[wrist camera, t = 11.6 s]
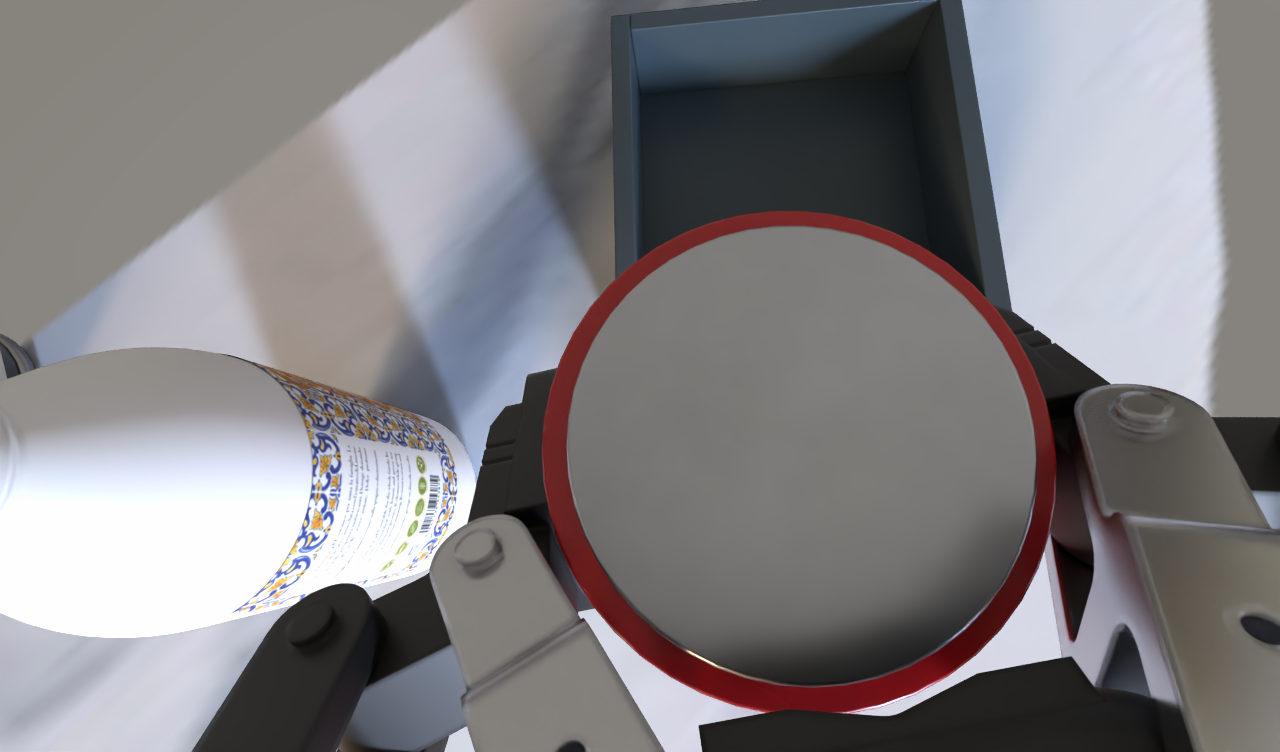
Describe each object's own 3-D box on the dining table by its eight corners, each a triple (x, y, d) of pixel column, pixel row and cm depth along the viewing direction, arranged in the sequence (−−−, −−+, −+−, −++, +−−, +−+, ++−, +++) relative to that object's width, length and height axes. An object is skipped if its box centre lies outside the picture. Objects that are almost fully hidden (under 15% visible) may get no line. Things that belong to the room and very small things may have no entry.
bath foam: (470, 401, 27) (-133, 136, 7) (490, 559, 25) (-203, 745, 6) (323, 432, 27) (-612, 257, 8) (335, 590, 26) (-792, 856, 6)
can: (635, 592, 17) (528, 729, 6) (630, 379, 18) (534, 211, 8) (861, 590, 16) (1133, 735, 6) (839, 369, 17) (1030, 175, 7)
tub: (632, 367, 27) (616, 337, 22) (625, 96, 29) (610, 15, 24) (953, 351, 25) (1013, 316, 20) (914, 70, 28) (958, -21, 23)
